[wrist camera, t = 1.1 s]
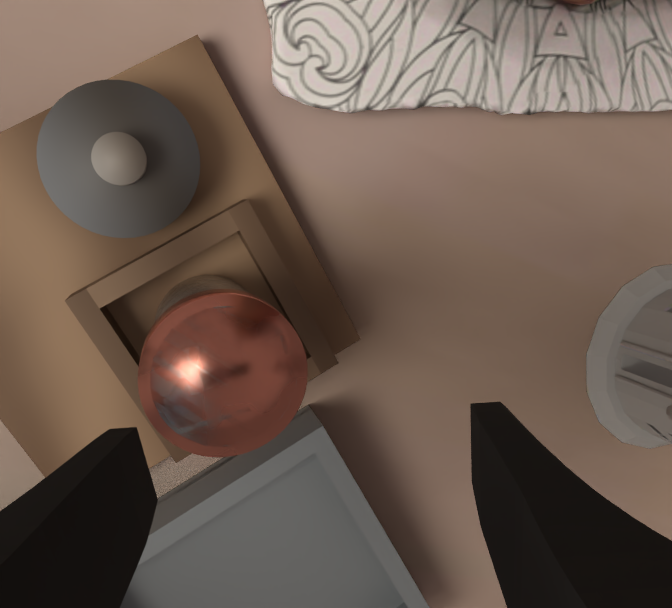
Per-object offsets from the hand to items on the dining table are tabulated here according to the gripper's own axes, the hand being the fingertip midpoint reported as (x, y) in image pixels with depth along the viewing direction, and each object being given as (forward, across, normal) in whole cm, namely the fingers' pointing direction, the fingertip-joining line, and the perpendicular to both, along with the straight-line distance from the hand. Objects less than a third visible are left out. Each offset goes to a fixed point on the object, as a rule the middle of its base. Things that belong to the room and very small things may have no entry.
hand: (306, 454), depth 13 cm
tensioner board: (+11, +7, 0) cm, 13 cm away
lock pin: (+10, +5, +2) cm, 11 cm away
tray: (+9, +4, +13) cm, 17 cm away
